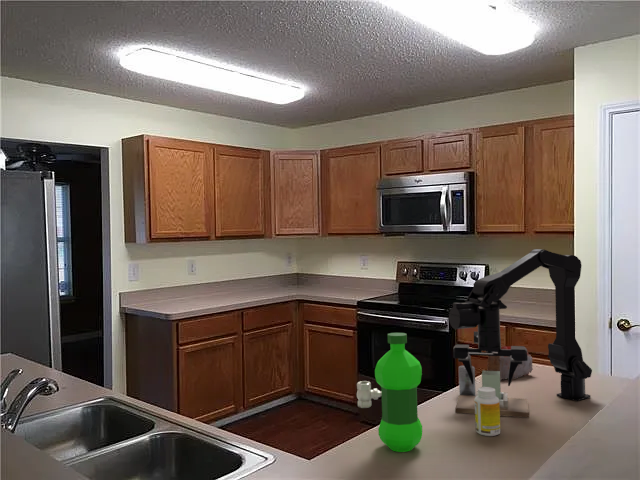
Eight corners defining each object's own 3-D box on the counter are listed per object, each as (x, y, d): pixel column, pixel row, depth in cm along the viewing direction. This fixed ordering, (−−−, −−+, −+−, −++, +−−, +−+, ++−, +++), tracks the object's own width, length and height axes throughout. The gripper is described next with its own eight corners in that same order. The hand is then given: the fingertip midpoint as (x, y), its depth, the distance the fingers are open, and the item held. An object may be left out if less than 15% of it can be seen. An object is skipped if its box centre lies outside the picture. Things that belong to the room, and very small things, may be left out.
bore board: (527, 403, 148) (526, 391, 148) (528, 417, 137) (528, 404, 137) (459, 399, 154) (458, 387, 154) (455, 412, 143) (454, 400, 143)
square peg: (500, 400, 147) (499, 371, 147) (500, 405, 143) (499, 375, 143) (483, 399, 148) (482, 370, 148) (482, 404, 144) (481, 374, 144)
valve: (358, 410, 148) (402, 408, 149) (357, 386, 148) (401, 383, 149) (355, 403, 154) (397, 400, 155) (354, 379, 154) (396, 377, 155)
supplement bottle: (505, 434, 126) (504, 389, 126) (487, 438, 124) (485, 393, 124) (488, 427, 131) (487, 384, 131) (470, 431, 129) (469, 388, 129)
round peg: (467, 391, 161) (466, 364, 161) (479, 395, 158) (478, 367, 157) (456, 394, 159) (455, 367, 159) (467, 398, 155) (466, 369, 155)
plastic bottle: (434, 446, 120) (430, 333, 120) (403, 460, 113) (399, 340, 113) (399, 435, 128) (395, 328, 128) (368, 448, 121) (364, 335, 121)
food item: (516, 371, 184) (515, 341, 184) (535, 376, 176) (534, 345, 176) (485, 376, 178) (484, 346, 178) (503, 382, 171) (501, 350, 171)
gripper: (525, 322, 150) (527, 378, 150) (455, 321, 156) (457, 375, 156) (526, 328, 140) (528, 389, 140) (451, 327, 146) (453, 385, 146)
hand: (490, 384), depth 146 cm, fingers open, 9 cm apart
